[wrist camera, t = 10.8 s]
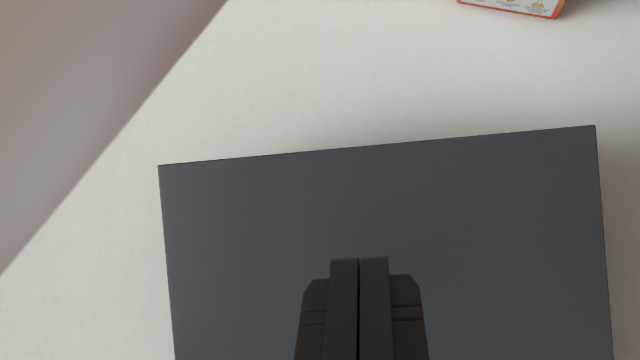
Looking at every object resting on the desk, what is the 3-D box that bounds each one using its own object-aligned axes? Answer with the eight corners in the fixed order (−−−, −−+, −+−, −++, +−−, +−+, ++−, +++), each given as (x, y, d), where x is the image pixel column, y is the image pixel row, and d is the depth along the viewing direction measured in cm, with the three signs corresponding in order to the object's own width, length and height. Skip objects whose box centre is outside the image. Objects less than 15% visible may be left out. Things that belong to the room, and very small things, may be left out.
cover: (165, 165, 24) (156, 165, 23) (587, 126, 22) (595, 124, 21) (187, 414, 24) (180, 424, 23) (609, 405, 22) (618, 415, 21)
